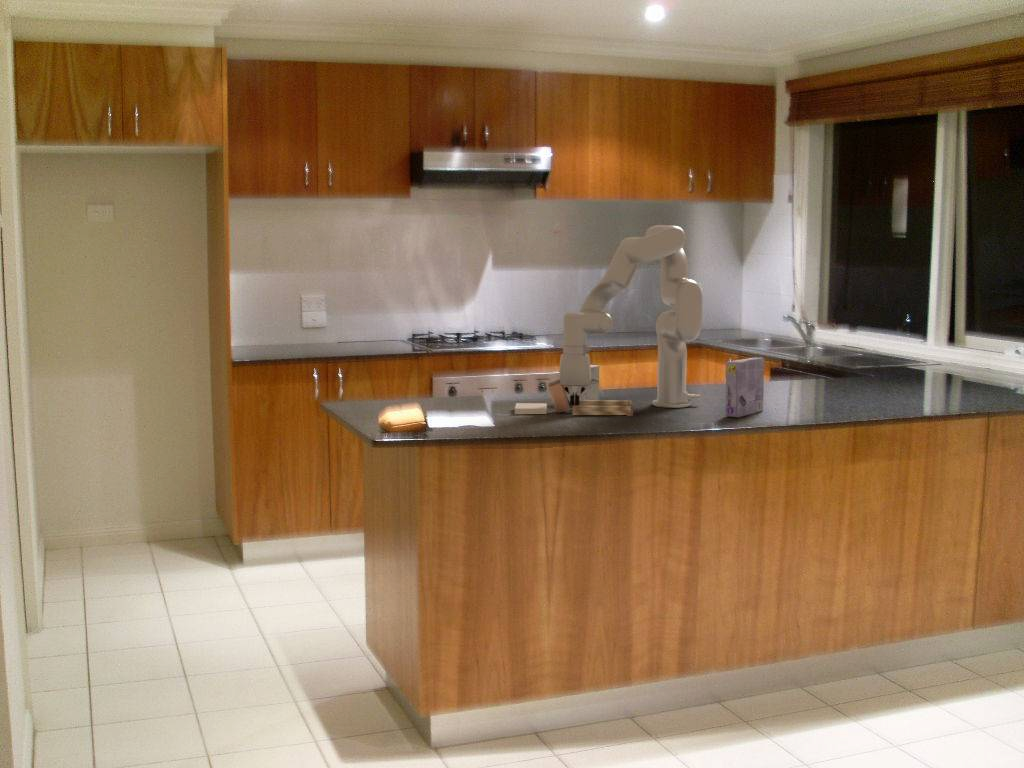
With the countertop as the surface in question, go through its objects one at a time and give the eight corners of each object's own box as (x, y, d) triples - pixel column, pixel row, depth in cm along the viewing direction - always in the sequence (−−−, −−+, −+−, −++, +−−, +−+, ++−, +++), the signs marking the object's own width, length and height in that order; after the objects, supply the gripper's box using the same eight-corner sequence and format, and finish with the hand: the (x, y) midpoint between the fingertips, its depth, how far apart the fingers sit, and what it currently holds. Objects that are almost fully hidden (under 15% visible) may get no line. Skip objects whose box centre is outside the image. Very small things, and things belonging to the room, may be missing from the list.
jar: (569, 405, 356) (560, 377, 354) (571, 408, 351) (562, 379, 349) (555, 411, 356) (545, 383, 354) (557, 413, 351) (547, 385, 349)
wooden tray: (630, 409, 358) (631, 400, 357) (633, 416, 346) (633, 406, 346) (572, 409, 359) (572, 400, 358) (572, 415, 347) (573, 406, 347)
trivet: (546, 409, 358) (546, 403, 358) (546, 414, 349) (546, 408, 348) (516, 409, 359) (516, 403, 359) (514, 414, 349) (514, 408, 349)
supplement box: (583, 404, 368) (584, 367, 366) (568, 402, 373) (569, 365, 371) (599, 402, 372) (600, 365, 370) (584, 399, 378) (585, 363, 376)
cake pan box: (751, 409, 359) (753, 355, 357) (765, 410, 356) (767, 356, 354) (723, 417, 345) (724, 361, 342) (737, 419, 342) (739, 362, 339)
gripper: (598, 349, 353) (597, 405, 356) (551, 349, 354) (551, 405, 357) (598, 352, 346) (598, 409, 349) (551, 352, 347) (551, 409, 349)
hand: (574, 407), depth 353 cm, fingers closed
